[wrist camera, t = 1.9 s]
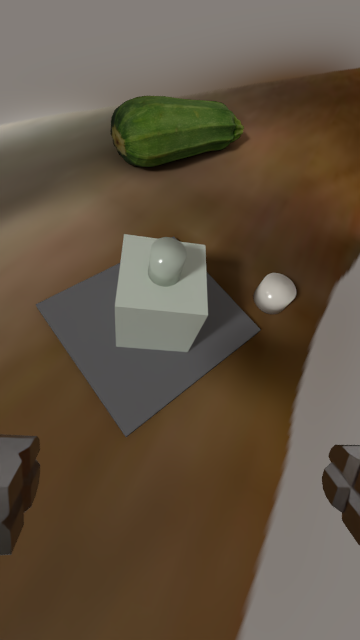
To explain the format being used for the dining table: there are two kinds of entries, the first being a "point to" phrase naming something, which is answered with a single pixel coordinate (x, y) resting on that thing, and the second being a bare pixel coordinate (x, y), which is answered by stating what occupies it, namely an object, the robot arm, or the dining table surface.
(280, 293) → the glossy white pebble
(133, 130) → the vegetable
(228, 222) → the dining table surface
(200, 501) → the dining table surface
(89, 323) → the mat
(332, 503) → the robot arm
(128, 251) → the square capped bottle
